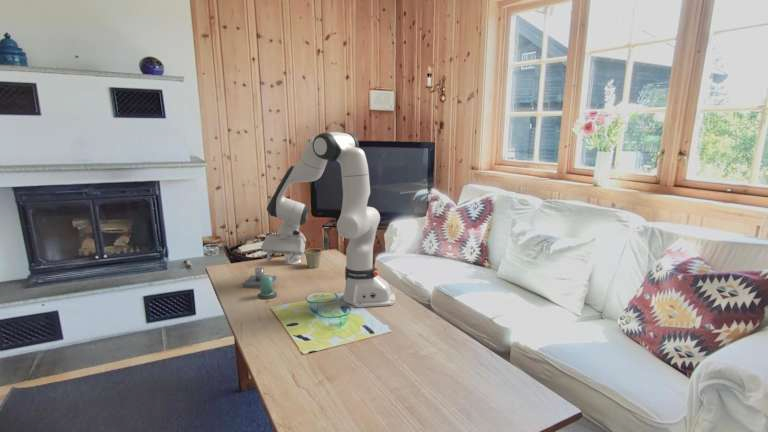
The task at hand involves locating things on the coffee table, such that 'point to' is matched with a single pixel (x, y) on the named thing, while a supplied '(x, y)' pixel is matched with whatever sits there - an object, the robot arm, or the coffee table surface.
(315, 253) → the flower pot
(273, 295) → the pad
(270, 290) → the cap
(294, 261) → the jar
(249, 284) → the post slab
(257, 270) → the grey rounded piece
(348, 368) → the coffee table surface
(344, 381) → the coffee table surface
